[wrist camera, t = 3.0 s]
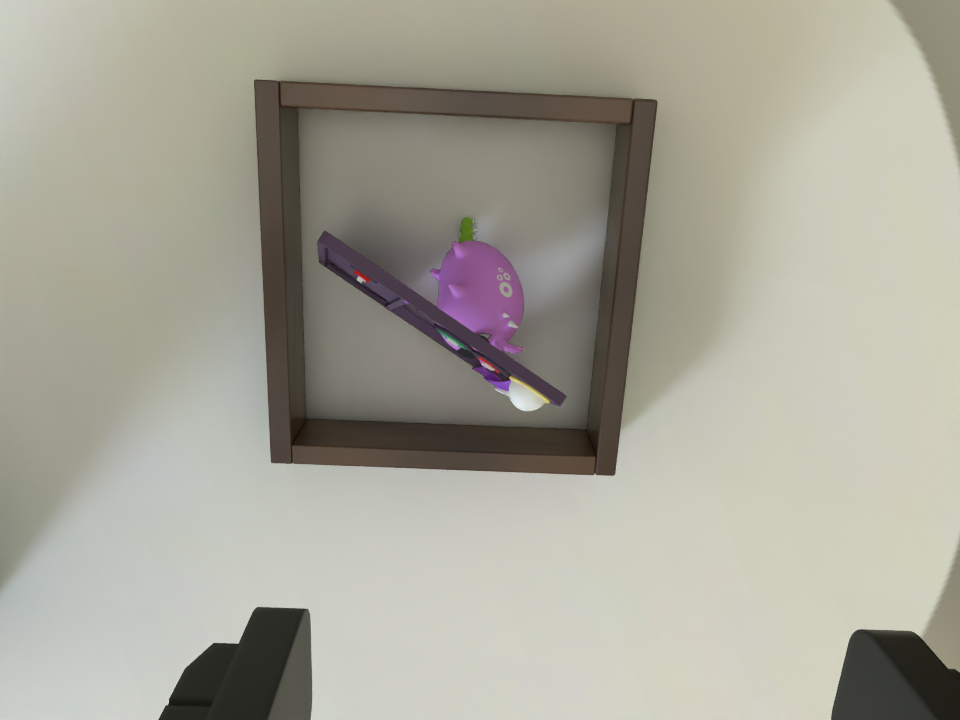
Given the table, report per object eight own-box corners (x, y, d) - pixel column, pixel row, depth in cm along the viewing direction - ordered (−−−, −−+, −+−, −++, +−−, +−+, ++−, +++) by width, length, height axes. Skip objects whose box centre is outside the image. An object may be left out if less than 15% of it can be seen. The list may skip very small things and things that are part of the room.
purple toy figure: (302, 261, 21) (549, 427, 23) (402, 116, 22) (637, 289, 24) (308, 278, 28) (500, 407, 30) (384, 167, 28) (569, 299, 30)
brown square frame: (287, 435, 30) (270, 463, 28) (274, 83, 26) (253, 79, 24) (603, 448, 31) (615, 476, 28) (641, 101, 26) (658, 99, 24)
